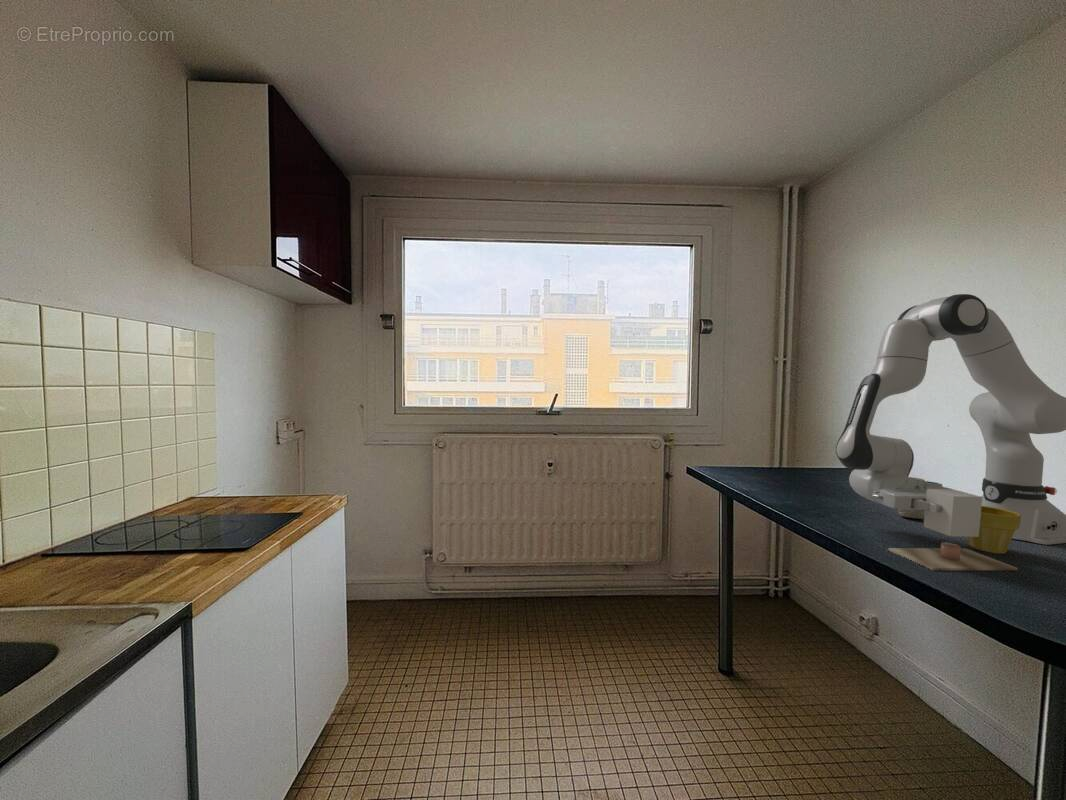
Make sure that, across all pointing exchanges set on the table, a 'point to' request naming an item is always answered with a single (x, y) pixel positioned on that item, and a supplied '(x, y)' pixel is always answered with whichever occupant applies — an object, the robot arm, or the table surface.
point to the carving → (914, 514)
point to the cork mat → (936, 562)
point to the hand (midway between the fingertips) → (956, 509)
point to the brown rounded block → (950, 551)
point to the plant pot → (995, 530)
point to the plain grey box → (954, 512)
